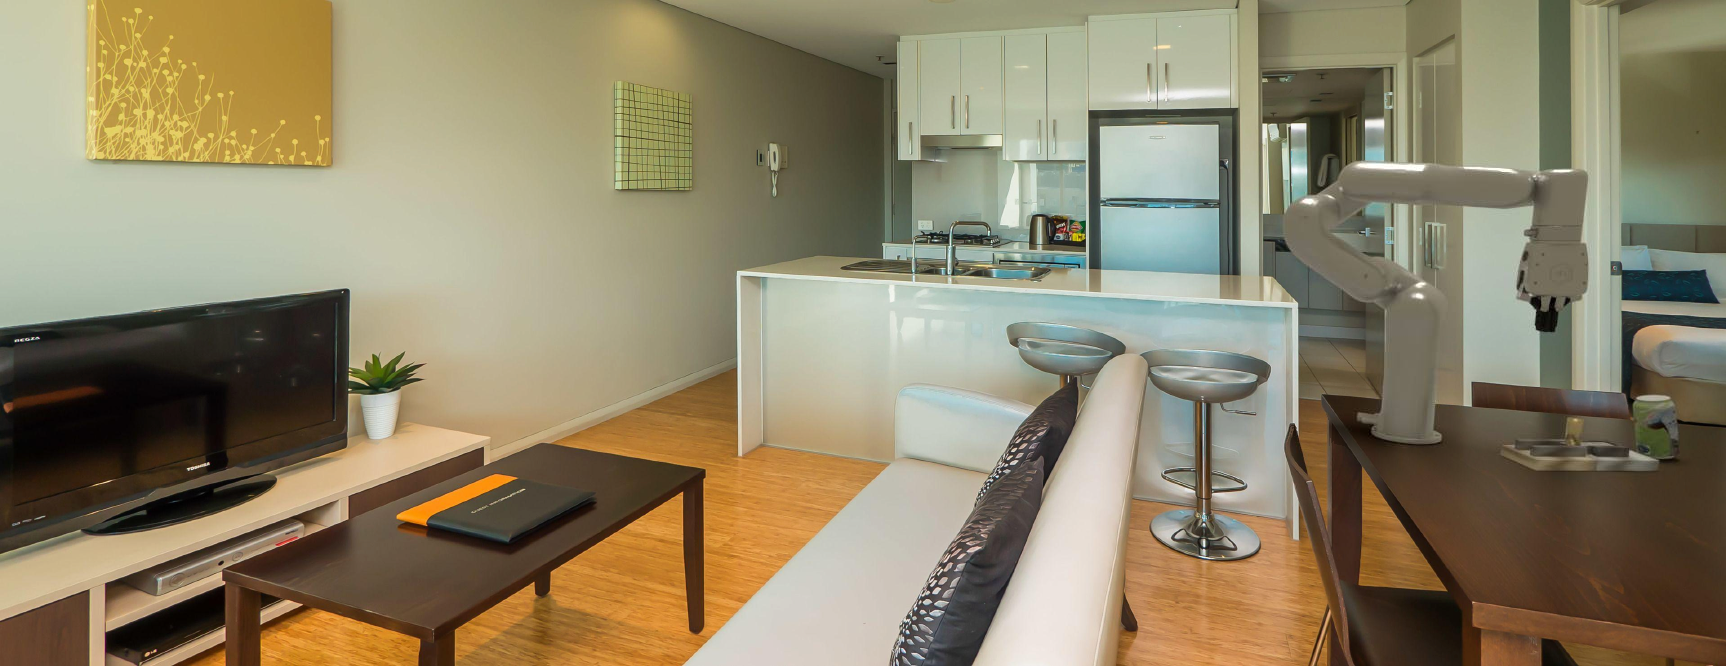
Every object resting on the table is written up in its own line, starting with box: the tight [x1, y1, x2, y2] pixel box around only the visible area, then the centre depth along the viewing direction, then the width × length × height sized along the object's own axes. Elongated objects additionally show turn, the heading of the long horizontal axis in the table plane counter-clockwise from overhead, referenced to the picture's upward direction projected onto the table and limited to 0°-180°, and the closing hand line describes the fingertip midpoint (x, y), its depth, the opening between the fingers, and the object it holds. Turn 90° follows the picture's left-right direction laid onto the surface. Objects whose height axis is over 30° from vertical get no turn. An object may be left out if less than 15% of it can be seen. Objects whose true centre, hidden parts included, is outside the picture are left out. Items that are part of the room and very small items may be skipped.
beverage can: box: [1632, 394, 1680, 460], centre depth 163 cm, size 6×7×12 cm
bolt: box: [1560, 417, 1614, 454], centre depth 161 cm, size 8×2×6 cm, turn 85°
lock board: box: [1500, 438, 1660, 472], centre depth 161 cm, size 21×10×4 cm, turn 85°
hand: (1545, 331), depth 164 cm, fingers closed
